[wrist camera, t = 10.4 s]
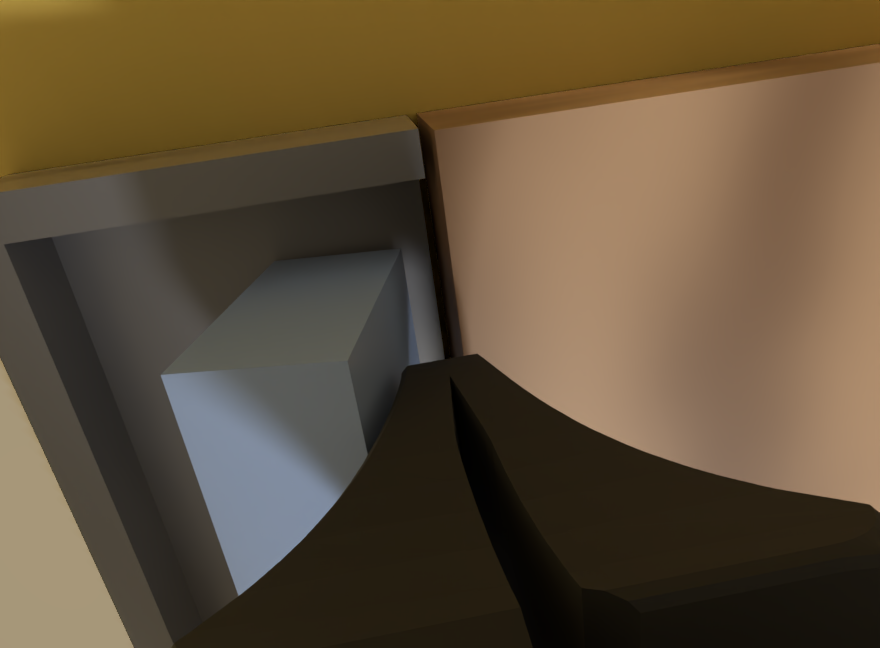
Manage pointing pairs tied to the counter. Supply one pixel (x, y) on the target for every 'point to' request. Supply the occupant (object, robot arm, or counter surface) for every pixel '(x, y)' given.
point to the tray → (176, 322)
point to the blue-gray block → (291, 397)
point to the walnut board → (680, 261)
